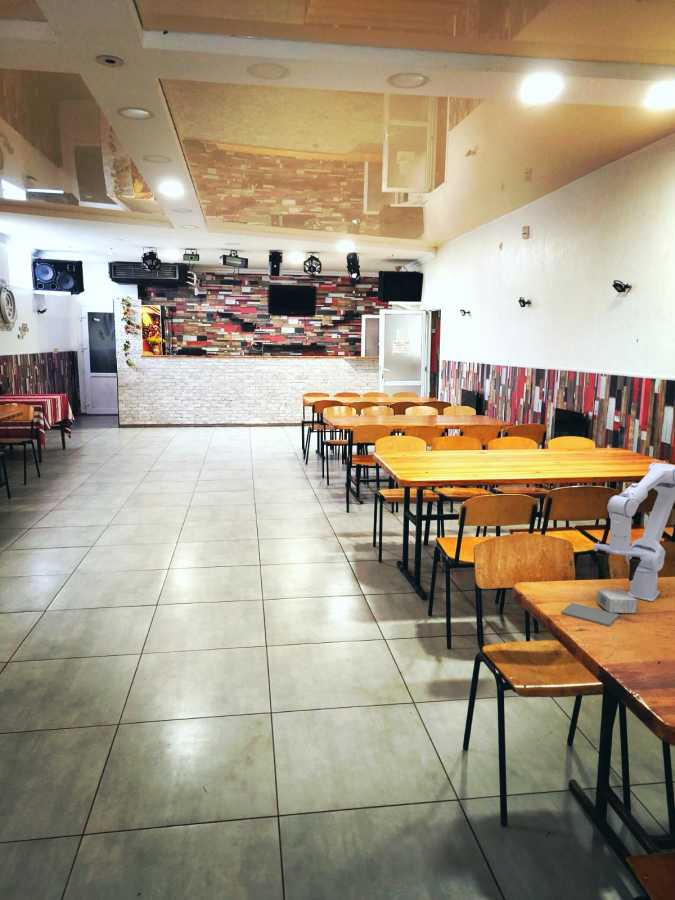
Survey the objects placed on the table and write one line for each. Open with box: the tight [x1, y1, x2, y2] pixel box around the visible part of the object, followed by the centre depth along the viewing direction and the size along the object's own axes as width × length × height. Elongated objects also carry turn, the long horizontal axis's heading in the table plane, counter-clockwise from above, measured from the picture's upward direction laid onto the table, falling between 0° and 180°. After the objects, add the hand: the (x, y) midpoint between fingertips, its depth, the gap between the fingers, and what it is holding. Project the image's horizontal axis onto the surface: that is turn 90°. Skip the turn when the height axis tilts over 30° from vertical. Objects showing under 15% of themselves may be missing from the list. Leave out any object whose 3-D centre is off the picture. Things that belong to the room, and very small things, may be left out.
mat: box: [560, 602, 620, 627], centre depth 180 cm, size 9×14×1 cm, turn 49°
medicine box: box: [596, 589, 638, 614], centre depth 184 cm, size 8×4×9 cm
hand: (617, 577), depth 185 cm, fingers open, 7 cm apart
